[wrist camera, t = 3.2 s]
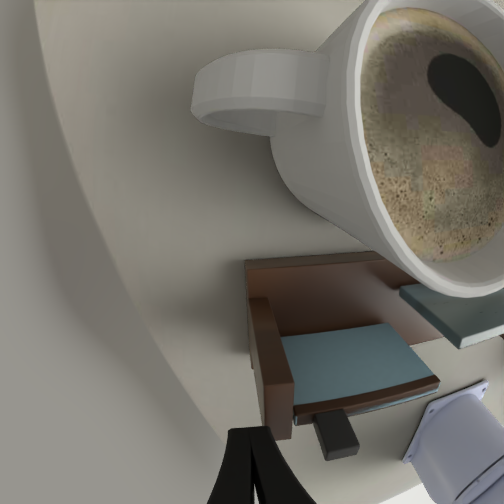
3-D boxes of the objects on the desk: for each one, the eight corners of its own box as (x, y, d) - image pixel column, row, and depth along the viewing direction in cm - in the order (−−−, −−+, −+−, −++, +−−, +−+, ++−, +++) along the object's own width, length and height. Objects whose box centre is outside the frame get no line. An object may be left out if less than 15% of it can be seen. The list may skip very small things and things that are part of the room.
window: (461, 319, 19) (528, 376, 12) (249, 354, 18) (265, 462, 10) (477, 243, 17) (561, 284, 10) (244, 259, 16) (262, 347, 9)
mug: (443, 148, 15) (582, 164, 6) (342, 262, 17) (450, 371, 7) (319, 7, 12) (405, -101, 3) (192, 120, 14) (137, 55, 4)
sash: (386, 331, 16) (458, 420, 9) (273, 347, 16) (305, 466, 9) (388, 321, 16) (464, 408, 9) (273, 336, 16) (306, 455, 8)
